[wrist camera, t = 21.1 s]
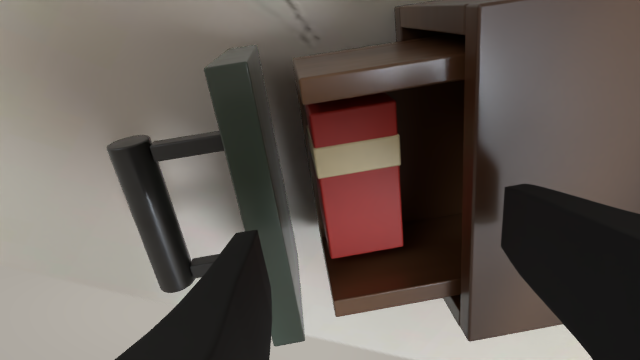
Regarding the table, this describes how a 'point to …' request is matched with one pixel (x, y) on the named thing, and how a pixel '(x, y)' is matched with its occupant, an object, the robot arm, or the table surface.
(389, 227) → the red rectangular block
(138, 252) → the table surface
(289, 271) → the drawer
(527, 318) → the cabinet
